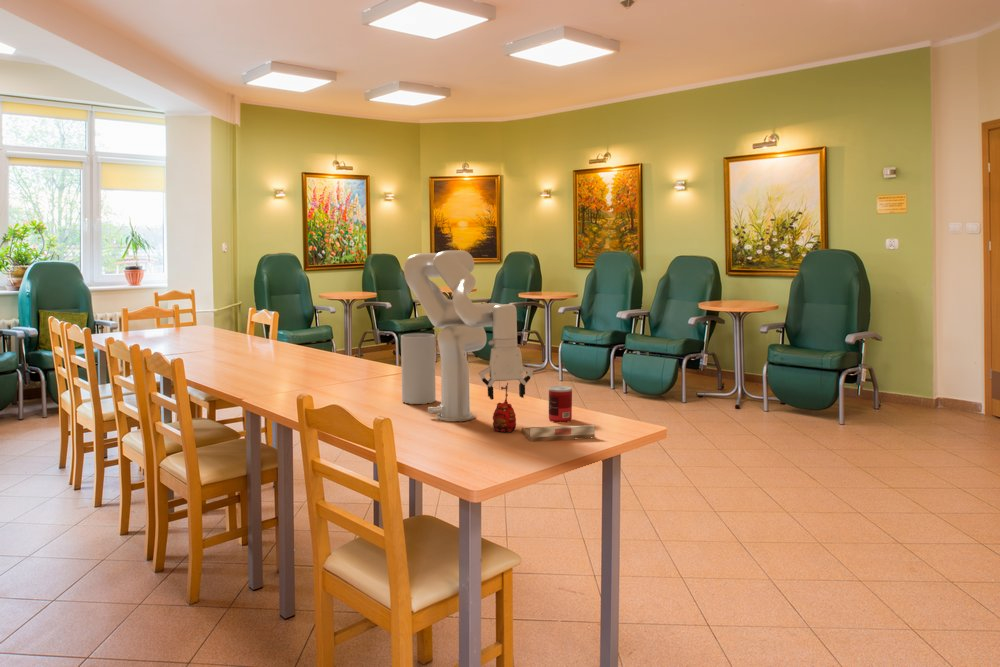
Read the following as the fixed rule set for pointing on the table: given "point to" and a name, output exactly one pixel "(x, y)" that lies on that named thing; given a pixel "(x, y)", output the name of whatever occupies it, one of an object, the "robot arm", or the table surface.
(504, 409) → the red clay folk toy
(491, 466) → the table surface
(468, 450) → the table surface
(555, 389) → the canned food
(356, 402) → the table surface
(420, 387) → the cylinder vase
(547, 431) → the shelf board
